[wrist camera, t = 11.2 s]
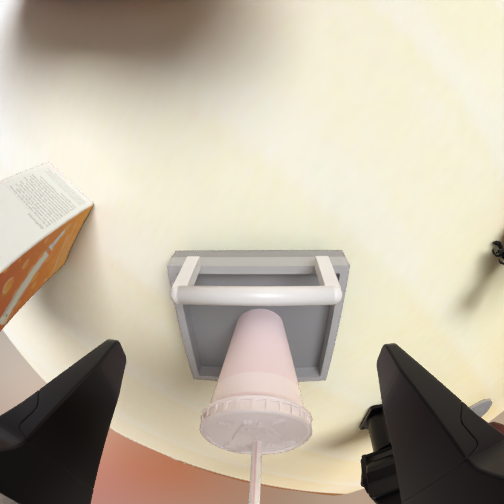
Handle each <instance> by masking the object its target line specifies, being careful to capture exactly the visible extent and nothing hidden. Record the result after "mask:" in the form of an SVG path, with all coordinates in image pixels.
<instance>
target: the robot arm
mask: <svg viewBox="0 0 504 504" xmlns="http://www.w3.org/2000/svg"><path fill="white" fill-rule="evenodd" d="M125 365H126V356H125V353H124V351H123V349H122V347H121V344H120V342H119V341H117V340H111V339H108V340H106V341H105V342H103V343H102V344H101V345H99V346H98V347H97V348H95V349H94V350H92V351H91V352H90V353H88V354H87V355H86V356H84V357H83V358H81V359H80V360H79V361H77V362H76V363H75V364H73V365H72V366H71V367H69V368H68V369H67V370H65V371H64V372H62V373H61V374H60V375H58V376H57V377H56V378H54V379H53V380H52V381H50V382H49V383H48V384H46V385H45V386H44V387H42V388H41V389H40V391H37V392H36V393H34V394H33V395H31V396H30V397H29V398H27V399H26V400H25V401H23V402H22V403H20V404H18V405H17V406H15V407H14V408H12V409H11V410H9V411H7V412H6V413H4V414H2V415H1V416H0V504H91V499H92V494H93V488H94V484H95V480H96V476H97V472H98V467H99V464H100V459H101V455H102V452H103V448H104V444H105V441H106V437H107V434H108V430H109V427H110V423H111V420H112V417H113V414H114V410H115V407H116V404H117V401H118V397H119V393H120V388H121V383H122V378H123V374H124V369H125ZM377 371H378V377H379V384H380V392H381V399H382V405H377V406H373V407H371V408H370V410H369V411H368V413H367V415H366V417H365V419H364V420H363V422H362V424H361V425H360V429H361V430H363V429H369V433H370V438H371V442H372V447H373V452H372V453H370V454H367V455H366V454H365V455H362V459H361V468H362V475H361V486H362V487H364V488H365V490H366V492H367V493H368V494H369V496H370V497H371V498H372V500H373V501H374V502H375V503H376V504H504V434H503V433H501V432H500V431H499V430H497V429H496V428H494V427H493V426H492V425H490V424H489V423H488V422H486V421H485V420H484V419H482V418H481V417H480V416H478V415H477V414H476V413H475V412H474V411H473V410H471V409H470V408H469V407H468V406H467V405H466V404H465V403H463V402H462V401H461V400H460V399H459V398H458V397H457V396H456V395H454V394H453V393H452V392H451V391H450V390H449V389H448V388H446V387H445V386H444V385H443V384H442V383H441V382H440V381H438V380H437V379H436V378H435V377H434V376H433V375H432V374H430V373H429V372H428V371H427V370H426V369H425V368H424V367H422V366H421V365H420V364H419V363H418V362H417V361H415V360H414V359H413V358H412V357H411V356H410V355H408V354H407V353H406V352H405V351H404V350H403V349H401V348H400V347H399V346H398V345H397V344H395V343H391V344H385V345H383V347H382V349H381V352H380V355H379V357H378V360H377Z"/></svg>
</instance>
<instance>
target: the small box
mask: <svg viewBox="0 0 504 504" xmlns="http://www.w3.org/2000/svg"><path fill="white" fill-rule="evenodd" d="M93 205H94V204H93V202H92V201H91V200H90V199H89V198H88V197H87V196H86V195H84V194H83V193H82V192H81V191H80V190H79V189H78V188H77V187H76V186H75V185H74V184H73V183H72V182H70V181H69V180H68V179H67V178H66V177H65V176H64V175H63V174H62V173H61V172H60V171H59V170H58V169H57V168H56V167H55V166H54V165H53V164H52V163H51V162H47V163H44V164H41V165H38V166H36V167H33V168H30V169H28V170H25V171H23V172H20V173H18V174H15V175H13V176H11V177H8V178H6V179H4V180H1V181H0V331H1V330H2V329H3V328H4V326H5V325H6V324H7V323H8V322H9V321H10V320H11V318H12V317H13V316H14V315H15V314H16V313H17V312H18V311H19V309H20V308H21V307H22V306H23V305H24V304H25V303H26V302H27V301H28V300H29V299H30V298H31V297H32V296H33V295H34V293H35V292H36V291H37V290H38V289H39V288H40V287H41V286H42V285H43V284H44V283H45V282H46V281H47V280H48V279H50V278H51V277H52V276H53V275H54V274H55V273H56V272H57V271H58V270H59V269H60V268H61V267H62V266H63V265H64V264H65V262H66V259H67V256H68V254H69V252H70V249H71V247H72V245H73V243H74V241H75V239H76V236H77V234H78V232H79V230H80V229H81V227H82V225H83V223H84V221H85V219H86V217H87V215H88V214H89V212H90V210H91V208H92V207H93Z"/></svg>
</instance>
